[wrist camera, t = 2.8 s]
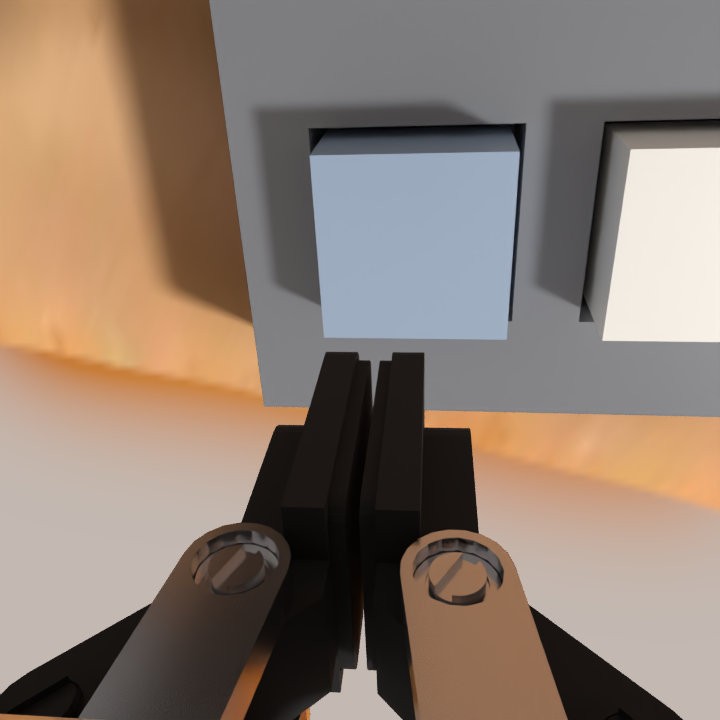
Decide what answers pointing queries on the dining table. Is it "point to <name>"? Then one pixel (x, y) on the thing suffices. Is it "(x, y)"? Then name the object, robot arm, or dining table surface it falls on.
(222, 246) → the dining table surface
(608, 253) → the off white key
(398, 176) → the slate blue key
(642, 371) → the key panel
